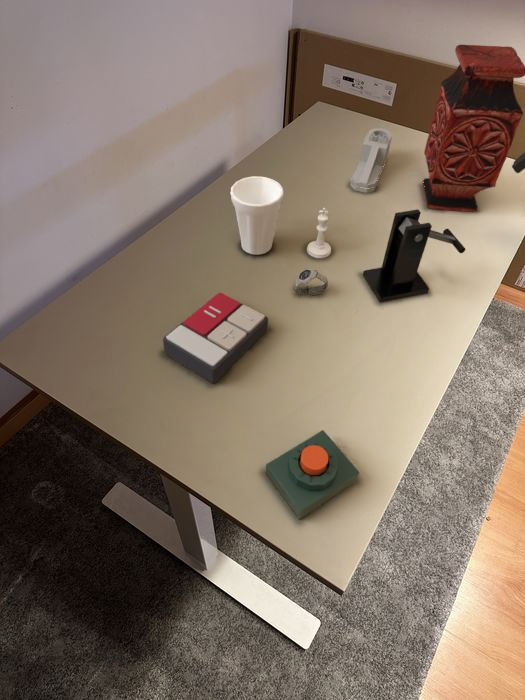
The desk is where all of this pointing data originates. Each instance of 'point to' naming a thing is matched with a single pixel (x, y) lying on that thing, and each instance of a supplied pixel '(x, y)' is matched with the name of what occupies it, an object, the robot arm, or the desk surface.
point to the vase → (472, 126)
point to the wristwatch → (306, 278)
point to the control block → (311, 476)
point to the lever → (435, 234)
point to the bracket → (401, 261)
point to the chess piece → (320, 239)
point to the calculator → (215, 336)
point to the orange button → (314, 460)
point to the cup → (257, 211)
